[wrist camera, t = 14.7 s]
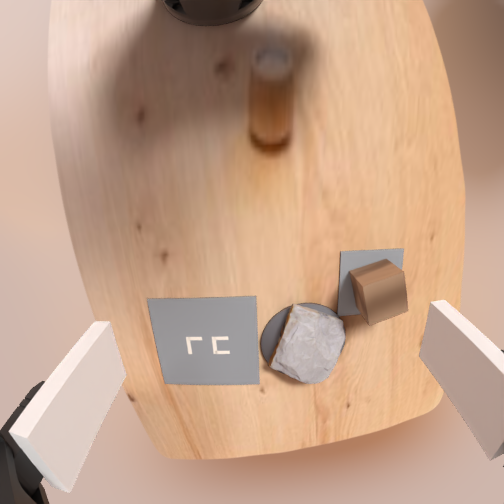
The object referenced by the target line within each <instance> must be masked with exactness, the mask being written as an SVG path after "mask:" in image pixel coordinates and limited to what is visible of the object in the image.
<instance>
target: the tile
mask: <svg viewBox="0 0 504 504" xmlns="http://www.w3.org/2000/svg"><path fill="white" fill-rule="evenodd" d="M403 253H404V249H381V250H359V251H341V256H340V279H339V296H338V311H337V316H347V315H358V314H361V313H360V312H359V310H358V309H357V307H356V303H355V298H354V293H353V288H352V283H351V278H350V273H349V271H350V270H353V269H356V268H359V267H362V266H365V265H368V264H371V263H374V262H377V261H380V260H383V259H388V260H389V261H390V262H392V263H393V264H394V265H396V266H397V267H398V268H400V269H401V270H402V264H403Z"/></svg>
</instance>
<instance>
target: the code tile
mask: <svg viewBox="0 0 504 504" xmlns="http://www.w3.org/2000/svg"><path fill="white" fill-rule="evenodd" d="M147 301H148V307H149V312H150V318H151V323H152V328H153V333H154V337H155V342H156V347H157V351H158V356H159V360H160V365H161V369H162V373H163V377H164V381H165V384H186V385H246V384H260V380H259V356H258V331H257V307H256V296H243V297H213V298H164V299H147Z"/></svg>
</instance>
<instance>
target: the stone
mask: <svg viewBox="0 0 504 504" xmlns="http://www.w3.org/2000/svg"><path fill="white" fill-rule="evenodd" d="M344 341H345V333H344V329H343V320H341V319H339V318H337V317H334V316H331V315H328V314H325V313H322V312H320V311H317V310H314V309H311V308H308V307H303V306H300V305H297V304H292V306H291V309H290V311H289V313H288V315H287V318H286V320H285V322H284V324H283V327H282V330H281V332H280V337H279V339H278V342H277V344H276V347H275V350H274V352H273V353H272V355H271V357H270V359H269V363H268V366H269V367H270V368H272V369H274V370H279V371H282V372H283V373H285V374H287V375H289V376H290V377H291V378H294V379H297V380H299V381H300V382H303V383H308V384H312V383H314V384H315V383H320V382H322V381H323V380H325V379H326V378H328V377H329V375H330V373H331V371H332V370H333V368H334V366H335V365H336V363H337V360H338V357H339V355H340V350H341V348H342V345H343V343H344Z"/></svg>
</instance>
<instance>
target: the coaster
mask: <svg viewBox="0 0 504 504" xmlns="http://www.w3.org/2000/svg"><path fill="white" fill-rule="evenodd" d="M297 305H300V306H303V307H308V308H311V309H314V310H317V311H320V312H322V313H325V314H328V315H331V316H334V317H337V318H339V316H337V314H336V313H335V312H334V311H332V310H331V309H329V308H328V307H326V306H323V305H320V304H315V303H301V304H297ZM290 309H291V306H289V307H287V308H285V309H283V310H281V311H280V312H278V313H277V314H276V315H275V316H273V317H272V319H271V320H270V321H269V322H268V324H267V325H266V327H265V329H264V331H263V334H262V339H261V346H262V352H263V355H264V357H265V359H266V361H267V362H268V363H269V359H270V357H271V355H272V353H273V352H274V350H275V347H276V344H277V342H278V339H279V337H280V332H281V330H282V327H283V324H284V322H285V320H286V318H287V315H288V313H289V311H290ZM339 319H340V318H339ZM343 329H344V325H343ZM344 333H345V329H344ZM344 344H345V341H344V343H343V345H342V348H341V350H340V353H341V351H342V349H343V347H344ZM277 371H279V370H277ZM279 372H281V373H283V372H282V371H279ZM283 374H285V373H283Z"/></svg>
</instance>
